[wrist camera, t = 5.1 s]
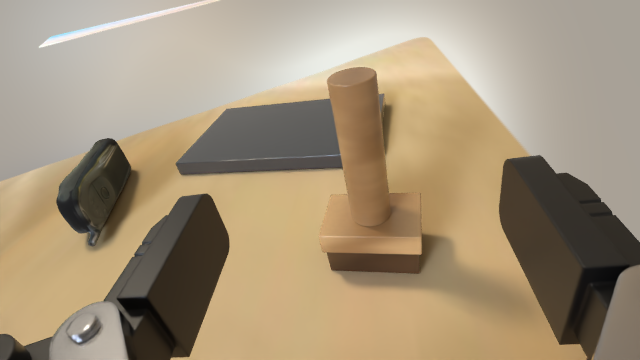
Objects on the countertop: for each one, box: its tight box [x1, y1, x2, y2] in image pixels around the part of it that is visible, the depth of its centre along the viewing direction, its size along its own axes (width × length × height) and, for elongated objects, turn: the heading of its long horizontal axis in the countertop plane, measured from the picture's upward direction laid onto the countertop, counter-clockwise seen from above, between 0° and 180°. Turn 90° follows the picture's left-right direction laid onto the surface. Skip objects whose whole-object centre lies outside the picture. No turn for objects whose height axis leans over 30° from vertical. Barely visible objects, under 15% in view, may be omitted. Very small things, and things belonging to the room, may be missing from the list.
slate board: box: [176, 94, 385, 174], centre depth 43 cm, size 22×14×2 cm, turn 78°
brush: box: [319, 67, 422, 273], centre depth 23 cm, size 6×4×13 cm
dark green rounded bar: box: [56, 138, 131, 246], centre depth 38 cm, size 5×3×15 cm
